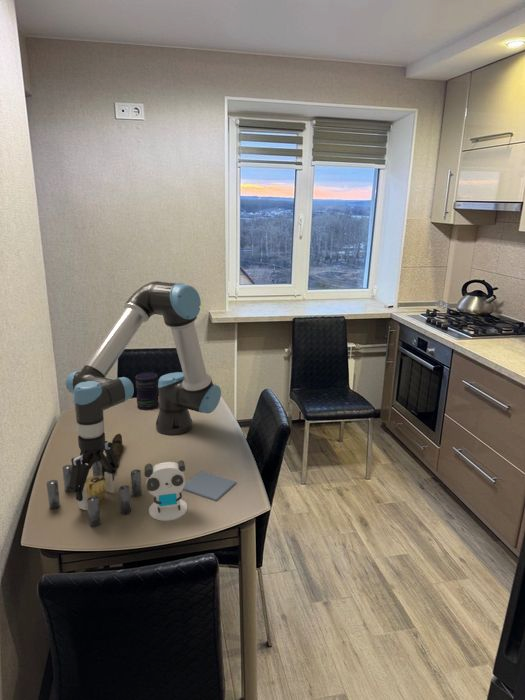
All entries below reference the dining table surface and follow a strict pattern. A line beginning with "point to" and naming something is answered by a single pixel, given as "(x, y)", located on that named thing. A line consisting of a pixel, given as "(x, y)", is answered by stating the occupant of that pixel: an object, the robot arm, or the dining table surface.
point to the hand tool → (115, 448)
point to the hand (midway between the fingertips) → (96, 499)
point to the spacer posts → (94, 500)
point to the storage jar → (147, 391)
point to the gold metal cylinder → (96, 488)
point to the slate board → (208, 485)
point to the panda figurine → (166, 489)
